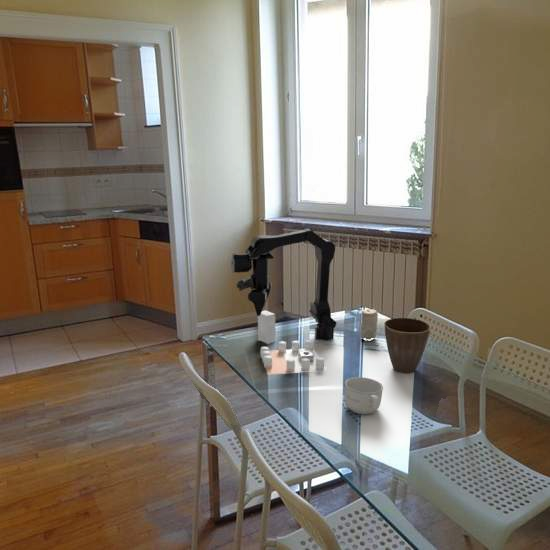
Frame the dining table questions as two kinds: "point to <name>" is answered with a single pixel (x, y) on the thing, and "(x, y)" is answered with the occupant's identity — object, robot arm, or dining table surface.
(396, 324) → the plant pot
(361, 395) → the teacup
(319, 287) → the robot arm
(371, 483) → the dining table surface
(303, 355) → the nut
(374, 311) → the beige upright cylinder
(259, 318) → the skincare box
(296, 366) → the board
